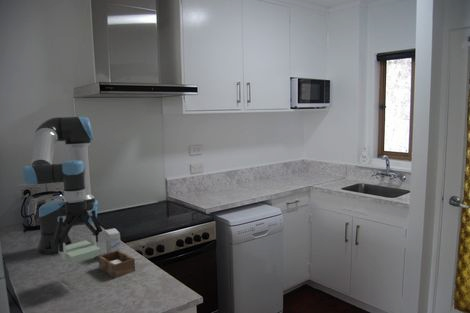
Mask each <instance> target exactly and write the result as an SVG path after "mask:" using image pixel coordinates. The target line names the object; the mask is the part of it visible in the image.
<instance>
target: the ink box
mask: <svg viewBox="0 0 470 313" xmlns="http://www.w3.org/2000/svg"><path fill="white" fill-rule="evenodd" d="M104 233H105V244H106V245H105V246H106V254H107V253H111V252H114V251H117V250H119V251H121V252H123V251H122V245H121V242H122V241H121V233H120V232H119V231H118V230H117V229H116V228H114V227H113V228H109V229H105V230H104Z"/></svg>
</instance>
